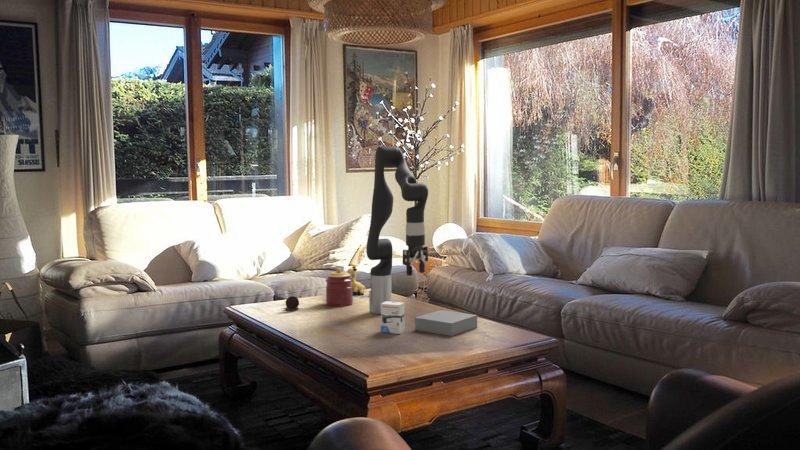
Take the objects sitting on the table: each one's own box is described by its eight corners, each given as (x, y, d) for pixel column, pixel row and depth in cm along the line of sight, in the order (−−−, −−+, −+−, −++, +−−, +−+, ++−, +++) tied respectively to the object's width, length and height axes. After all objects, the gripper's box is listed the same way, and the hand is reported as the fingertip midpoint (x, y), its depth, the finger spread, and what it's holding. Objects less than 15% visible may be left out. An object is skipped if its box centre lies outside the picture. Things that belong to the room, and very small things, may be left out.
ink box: (380, 332, 276) (379, 303, 275) (385, 329, 281) (384, 300, 280) (400, 334, 273) (399, 304, 272) (405, 331, 278) (404, 302, 277)
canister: (351, 306, 329) (351, 269, 327) (324, 307, 329) (323, 270, 327) (354, 301, 342) (353, 265, 340) (327, 301, 342) (326, 266, 340)
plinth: (415, 329, 280) (414, 317, 280) (441, 321, 294) (440, 309, 294) (452, 336, 269) (451, 323, 269) (477, 327, 283) (477, 315, 282)
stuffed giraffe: (337, 294, 363) (337, 263, 361) (369, 292, 370) (370, 262, 368) (347, 300, 348) (348, 268, 347) (380, 298, 356) (381, 267, 354)
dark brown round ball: (298, 308, 328) (297, 292, 327) (299, 311, 320) (298, 295, 319) (280, 309, 326) (280, 293, 325) (281, 312, 318) (281, 296, 317)
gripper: (417, 231, 285) (418, 271, 286) (397, 234, 274) (397, 275, 275) (433, 232, 281) (433, 272, 282) (412, 235, 269) (413, 277, 271)
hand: (415, 274), depth 278 cm, fingers open, 8 cm apart
